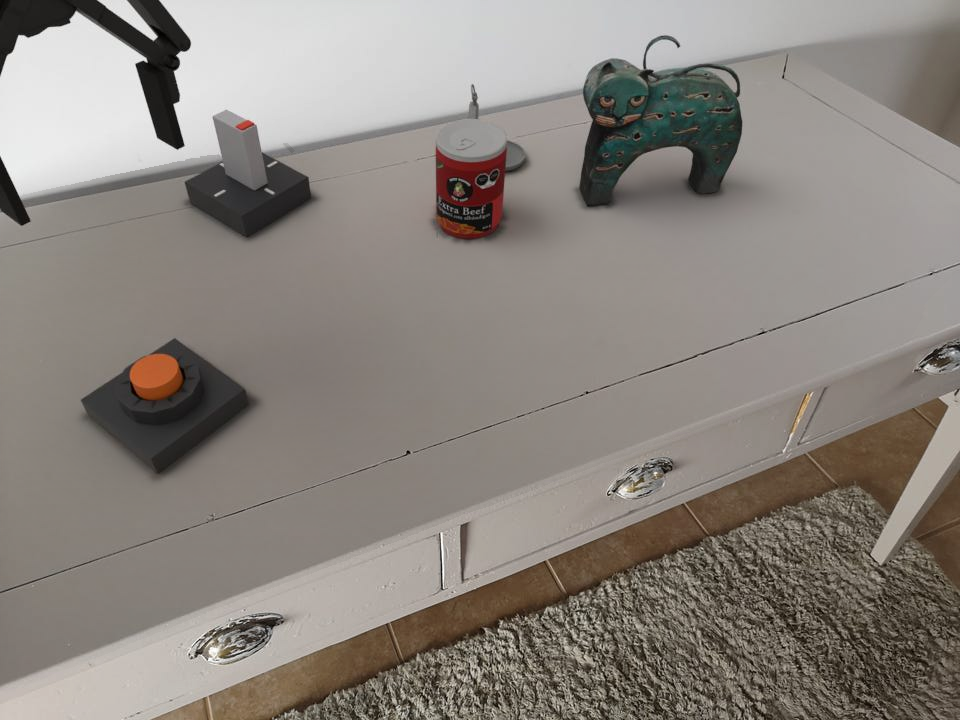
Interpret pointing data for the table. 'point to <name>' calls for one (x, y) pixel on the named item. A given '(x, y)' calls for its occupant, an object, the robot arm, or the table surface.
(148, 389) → the power button
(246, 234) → the dial panel
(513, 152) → the pocket watch
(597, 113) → the ceramic cat
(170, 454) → the dark square piece
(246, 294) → the table surface
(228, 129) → the dial
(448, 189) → the canned food
